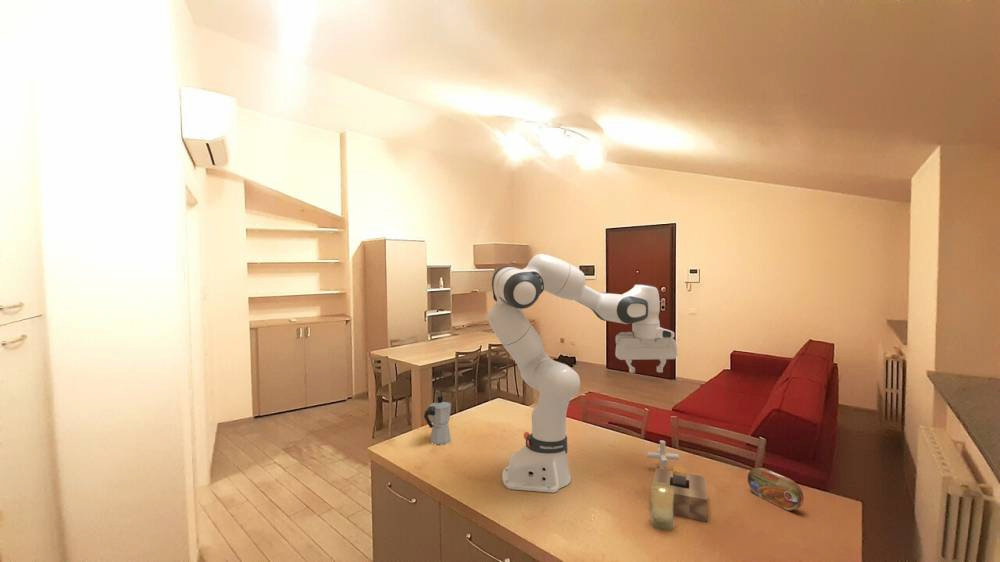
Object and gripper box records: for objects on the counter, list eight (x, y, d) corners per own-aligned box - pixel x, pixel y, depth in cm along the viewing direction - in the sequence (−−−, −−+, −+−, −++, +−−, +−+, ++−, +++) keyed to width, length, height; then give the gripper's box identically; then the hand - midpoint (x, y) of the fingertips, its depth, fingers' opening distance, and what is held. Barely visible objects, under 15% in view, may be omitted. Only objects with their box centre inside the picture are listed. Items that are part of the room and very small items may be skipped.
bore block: (652, 510, 121) (652, 489, 120) (655, 487, 133) (655, 468, 133) (706, 521, 115) (707, 499, 115) (705, 496, 128) (705, 476, 127)
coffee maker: (443, 433, 178) (443, 390, 178) (459, 438, 173) (458, 394, 173) (417, 445, 166) (416, 399, 166) (433, 451, 161) (432, 403, 161)
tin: (746, 491, 131) (747, 463, 130) (753, 488, 132) (753, 461, 132) (798, 516, 117) (798, 486, 117) (805, 514, 118) (805, 484, 118)
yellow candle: (655, 530, 111) (655, 493, 111) (648, 518, 117) (648, 482, 116) (677, 530, 111) (677, 492, 111) (668, 517, 117) (668, 482, 117)
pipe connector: (681, 479, 138) (681, 448, 138) (649, 476, 140) (649, 446, 140) (675, 465, 148) (675, 436, 148) (645, 462, 150) (645, 434, 150)
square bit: (672, 504, 123) (672, 470, 123) (673, 498, 126) (673, 465, 126) (685, 507, 122) (686, 473, 122) (686, 501, 125) (686, 467, 125)
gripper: (618, 333, 141) (618, 374, 142) (679, 332, 142) (679, 374, 142) (612, 330, 148) (612, 370, 148) (671, 330, 148) (671, 369, 148)
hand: (645, 372), depth 145 cm, fingers open, 8 cm apart
